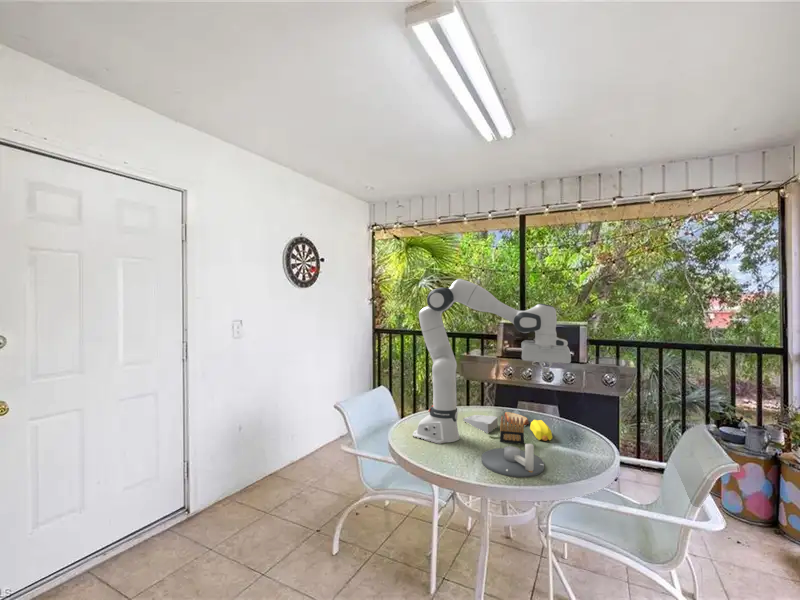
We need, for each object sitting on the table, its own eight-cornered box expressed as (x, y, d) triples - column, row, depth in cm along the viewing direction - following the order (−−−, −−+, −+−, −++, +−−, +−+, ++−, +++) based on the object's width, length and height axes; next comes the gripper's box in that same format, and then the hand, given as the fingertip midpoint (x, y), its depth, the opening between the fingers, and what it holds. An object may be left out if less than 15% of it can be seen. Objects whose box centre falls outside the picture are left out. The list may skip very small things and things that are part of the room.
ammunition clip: (500, 441, 174) (500, 416, 174) (499, 440, 176) (499, 414, 176) (524, 444, 171) (524, 417, 172) (523, 442, 173) (523, 416, 173)
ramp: (459, 418, 212) (459, 408, 212) (487, 417, 213) (487, 408, 213) (473, 435, 184) (473, 424, 184) (504, 434, 185) (504, 423, 185)
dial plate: (474, 469, 145) (474, 464, 145) (488, 448, 166) (488, 444, 166) (540, 482, 134) (540, 477, 134) (546, 457, 156) (546, 453, 156)
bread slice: (507, 414, 219) (507, 408, 219) (537, 421, 206) (537, 414, 206) (491, 421, 206) (491, 414, 206) (521, 429, 193) (521, 421, 193)
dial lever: (501, 457, 152) (501, 434, 152) (513, 455, 154) (513, 432, 154) (525, 472, 138) (525, 447, 138) (538, 470, 140) (538, 445, 140)
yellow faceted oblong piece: (537, 442, 174) (554, 443, 173) (537, 428, 174) (554, 428, 173) (528, 429, 192) (544, 430, 191) (528, 416, 192) (544, 417, 191)
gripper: (520, 340, 167) (520, 371, 167) (570, 342, 158) (570, 375, 158) (522, 339, 172) (522, 369, 172) (571, 341, 163) (571, 373, 163)
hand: (545, 372), depth 165 cm, fingers closed
